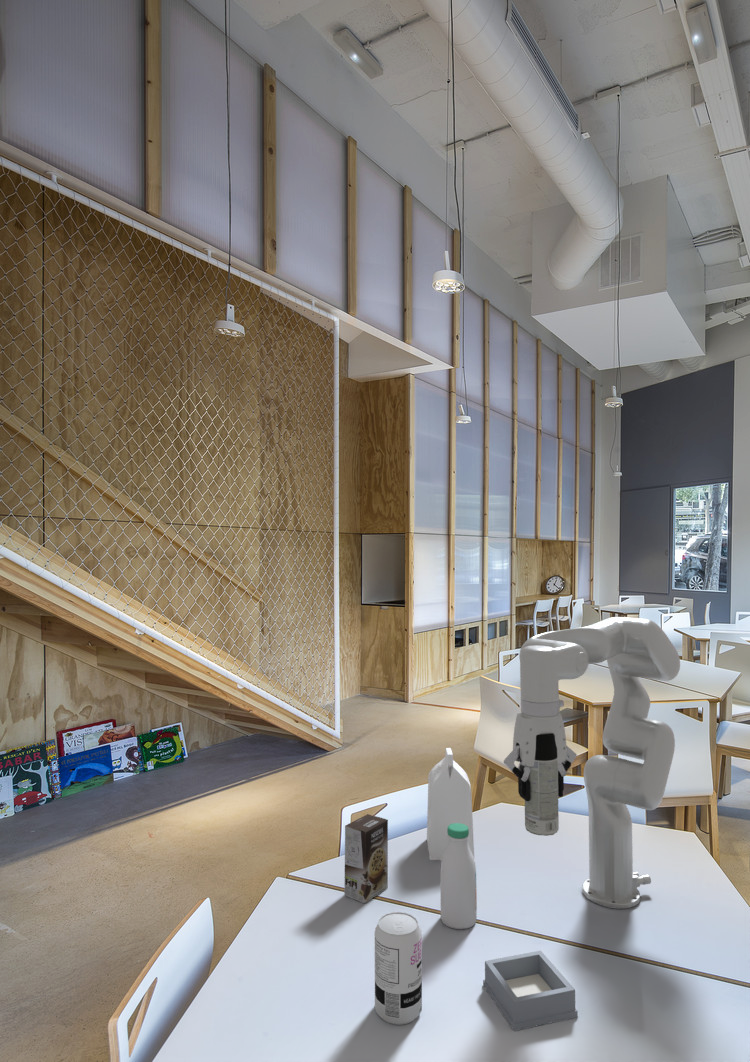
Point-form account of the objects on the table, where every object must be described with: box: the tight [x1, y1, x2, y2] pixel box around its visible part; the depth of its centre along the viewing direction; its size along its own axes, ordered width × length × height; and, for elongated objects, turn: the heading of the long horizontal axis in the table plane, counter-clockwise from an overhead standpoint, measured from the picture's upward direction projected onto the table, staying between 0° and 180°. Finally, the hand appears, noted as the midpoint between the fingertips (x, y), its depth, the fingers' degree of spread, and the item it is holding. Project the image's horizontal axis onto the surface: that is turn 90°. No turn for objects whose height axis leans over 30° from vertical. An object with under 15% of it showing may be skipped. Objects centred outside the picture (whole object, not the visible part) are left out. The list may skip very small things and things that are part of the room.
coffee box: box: [343, 813, 389, 904], centre depth 155 cm, size 9×6×16 cm
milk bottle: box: [440, 823, 478, 930], centre depth 143 cm, size 8×8×20 cm
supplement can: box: [374, 911, 423, 1026], centre depth 115 cm, size 8×8×15 cm
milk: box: [426, 747, 475, 861], centre depth 177 cm, size 12×12×26 cm
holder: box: [482, 950, 579, 1032], centre depth 118 cm, size 12×12×4 cm
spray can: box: [524, 733, 560, 837], centre depth 134 cm, size 7×7×20 cm
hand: (541, 795), depth 134 cm, fingers closed on spray can, 6 cm apart
